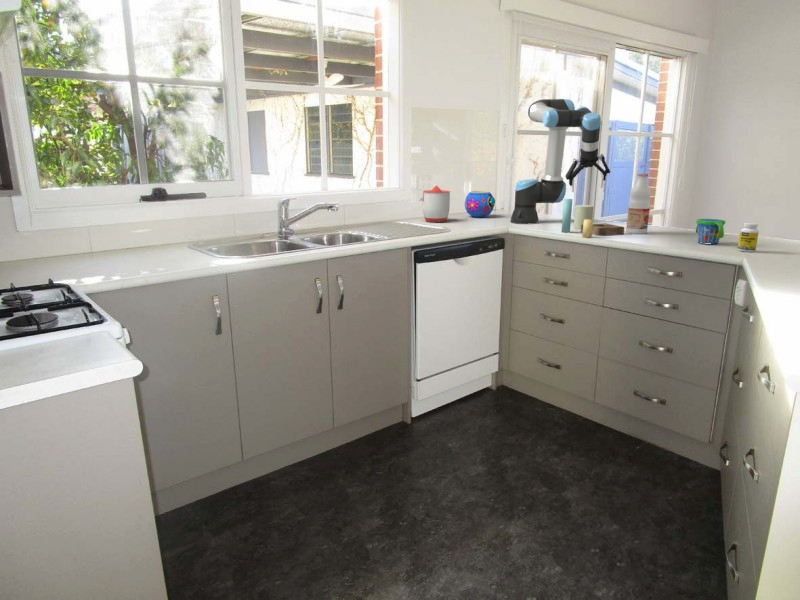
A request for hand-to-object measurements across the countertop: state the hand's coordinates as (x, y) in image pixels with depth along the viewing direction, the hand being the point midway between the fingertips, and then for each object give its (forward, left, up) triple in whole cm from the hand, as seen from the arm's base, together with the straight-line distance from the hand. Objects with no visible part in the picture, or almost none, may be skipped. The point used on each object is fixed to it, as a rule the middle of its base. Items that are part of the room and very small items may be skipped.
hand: (586, 188), depth 267 cm
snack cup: (+45, +31, -21) cm, 59 cm away
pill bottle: (+64, +31, -21) cm, 74 cm away
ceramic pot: (-75, -20, -21) cm, 80 cm away
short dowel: (+13, -7, -21) cm, 26 cm away
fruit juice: (+9, +24, -21) cm, 33 cm away
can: (-13, +9, -21) cm, 26 cm away
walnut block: (+4, +8, -21) cm, 23 cm away
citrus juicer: (-64, -53, -21) cm, 86 cm away
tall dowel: (-4, -7, -21) cm, 23 cm away
